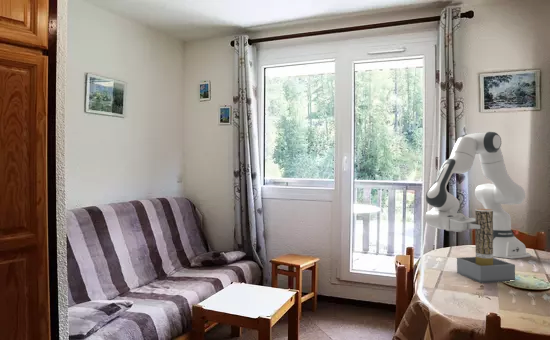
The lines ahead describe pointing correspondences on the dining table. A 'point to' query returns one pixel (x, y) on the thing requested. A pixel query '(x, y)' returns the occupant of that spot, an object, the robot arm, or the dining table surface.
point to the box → (486, 270)
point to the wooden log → (484, 237)
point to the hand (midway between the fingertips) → (486, 226)
